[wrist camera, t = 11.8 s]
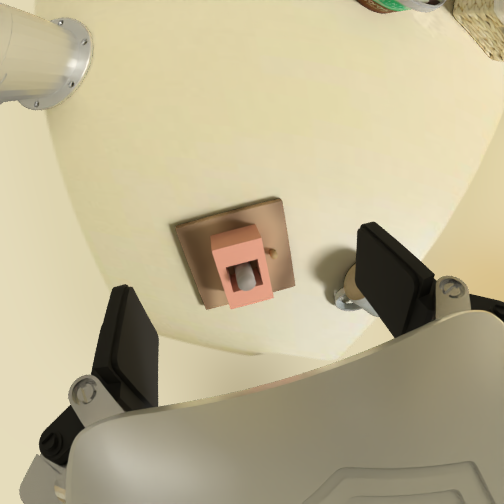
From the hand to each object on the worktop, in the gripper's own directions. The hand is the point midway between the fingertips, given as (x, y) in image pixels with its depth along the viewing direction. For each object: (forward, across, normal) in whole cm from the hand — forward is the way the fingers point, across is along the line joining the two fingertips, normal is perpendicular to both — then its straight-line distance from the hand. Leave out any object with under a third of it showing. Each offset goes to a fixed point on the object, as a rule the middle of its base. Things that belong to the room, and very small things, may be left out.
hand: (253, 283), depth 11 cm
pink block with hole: (+24, -1, +15) cm, 28 cm away
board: (+25, -1, +15) cm, 29 cm away
